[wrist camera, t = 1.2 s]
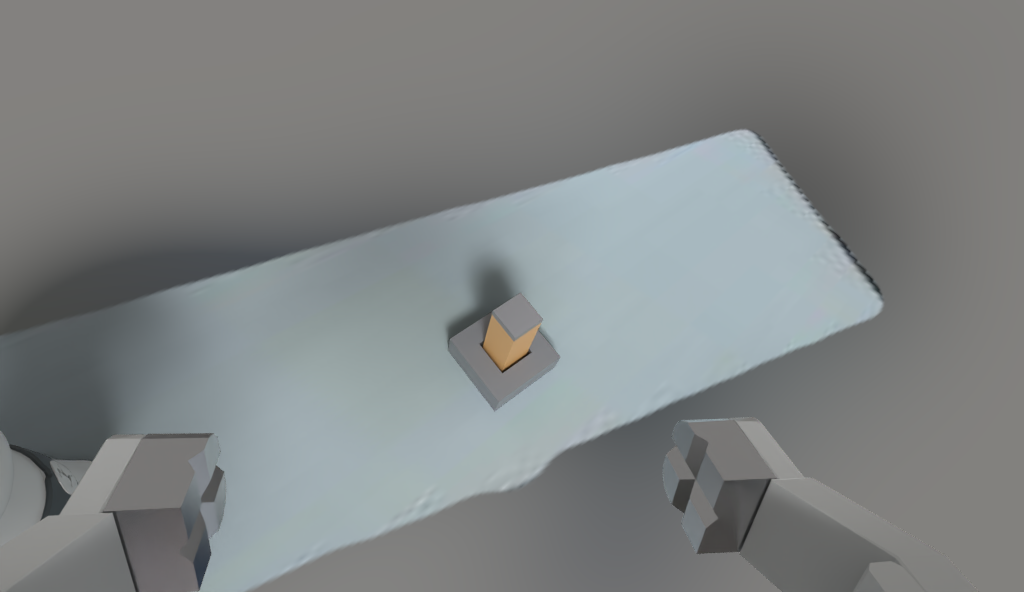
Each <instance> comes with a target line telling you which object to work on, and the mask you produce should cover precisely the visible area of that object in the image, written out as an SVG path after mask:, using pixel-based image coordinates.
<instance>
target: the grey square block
mask: <svg viewBox="0 0 1024 592" xmlns="http://www.w3.org/2000/svg"><path fill="white" fill-rule="evenodd" d="M492 312H493V311H492ZM492 312H490V313H489V314H487V315H486V316H484V317H483V318H481V319H480V320H478V321H477V322H475V323H473V324H472V325H470V326H469V327H467V328H466V329H464V330H463V331H461V332H460V333H458V334H457V335H455V336H454V337H452V338H450V342H449V349H448V351H449V352H450V354H451V355H452V356H453V357H454V359H455V360H456V361H457V363H458V364H459V365H460V367H461V368H462V369H463V371H464V372H465V373H466V374H467V376H468V377H469V378H470V380H471V381H472V382H473V384H474V385H475V386H476V388H477V389H478V390H479V391H480V393H481V394H482V395H483V397H484V398H485V399H486V401H487V402H488V403H489V405H490V406H491V407H492V408H493V410H494V411H496V410H497V409H498V408H500V407H501V406H502V405H504V404H505V403H507V402H508V401H509V400H511V399H512V398H513V397H515V396H516V395H517V394H519V393H520V392H522V391H523V390H524V389H526V388H527V387H528V386H530V385H531V384H532V383H534V382H535V381H537V380H538V379H539V378H541V377H542V376H543V375H545V374H546V373H547V372H549V371H550V370H551V369H553V368H554V367H555V365H556V364H557V362H558V360H559V359H560V356H559V355H558V353H557V352H556V351H555V350H554V348H553V347H552V346H551V345H550V344H549V342H548V341H547V340H546V339H545V338H544V336H543V335H542V334H541V333H540V332H539V330H538V331H537V333H536V335H535V337H534V339H533V341H532V344H531V346H530V348H529V350H528V352H527V354H526V356H525V358H523V359H522V360H521V361H519V362H518V363H516V364H515V365H514V366H512V367H511V368H509V369H508V370H506V371H505V372H504V373H502V372H501V371H500V370H499V368H498V367H497V366H496V365H495V363H494V362H493V361H492V360H491V358H490V357H489V356H488V354H487V353H486V352H485V351H484V349H483V344H484V341H485V337H486V333H487V330H488V326H489V323H490V319H491V316H492Z"/></svg>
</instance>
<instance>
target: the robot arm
mask: <svg viewBox="0 0 1024 592" xmlns="http://www.w3.org/2000/svg"><path fill="white" fill-rule="evenodd" d="M672 438H673V440H674V442H675V443H676V446H675V447H674V448H673V449H672V450H670V452H669V453H667V454H666V457H665V461H664V465H663V483H664V487H665V490H666V494H667V496H668V498H669V500H670V502H671V504H672V505H673V506H675V507H676V508H677V509H679V510H680V511H682V512H683V513H684V516H683V519H682V523H681V524H682V526H683V528H684V530H685V532H686V534H687V536H688V538H689V540H690V542H691V544H692V546H693V548H694V550H695V552H696V553H697V554H704V553H726V552H740V555H741V556H742V557H743V558H745V560H747V561H748V562H749V563H750V564H751V565H752V566H753V567H754V568H756V569H757V570H758V571H759V572H760V573H761V574H763V575H764V576H765V577H766V578H767V579H768V580H769V581H770V582H772V583H773V584H774V585H775V586H776V587H777V588H778V589H780V590H781V591H782V592H979V591H978V590H977V589H976V588H975V587H974V586H973V585H972V583H971V582H970V581H969V580H968V579H967V578H966V577H965V576H964V575H963V574H962V572H961V571H959V569H958V568H957V567H956V566H955V565H954V564H953V563H952V562H951V560H949V558H948V557H947V556H946V555H944V554H943V553H941V552H939V551H938V550H936V549H934V548H933V547H931V546H929V545H927V544H926V543H924V542H922V541H920V540H919V539H917V538H915V537H914V536H912V535H910V534H908V533H907V532H905V531H903V530H901V529H900V528H898V527H896V526H894V525H893V524H891V523H889V522H888V521H886V520H884V519H883V518H881V517H879V516H877V515H876V514H874V513H872V512H870V511H869V510H867V509H865V508H864V507H861V506H860V505H858V504H857V503H855V502H853V501H851V500H849V499H848V498H846V497H844V496H843V495H841V494H839V493H838V492H836V491H834V490H833V489H831V488H829V487H827V486H825V485H824V484H822V483H820V482H819V481H817V480H815V479H813V478H804V477H803V475H802V474H801V473H800V471H799V470H798V469H797V468H796V467H795V465H794V464H793V463H792V461H791V460H790V459H789V458H788V456H787V455H786V454H785V452H784V451H783V450H782V449H781V447H780V446H779V445H778V444H777V442H776V441H775V440H774V438H773V437H772V436H771V435H770V434H769V432H768V431H767V430H766V428H765V427H764V426H763V425H762V423H761V422H760V421H759V420H757V419H755V418H754V417H744V418H728V419H707V420H680V421H679V422H678V423H677V424H676V426H675V428H674V431H673V434H672ZM220 452H221V451H220V446H219V441H218V436H216V435H215V434H213V433H203V434H148V435H113V436H111V437H110V438H108V439H107V440H106V441H105V442H104V443H103V445H102V447H101V448H100V450H99V451H98V453H97V455H96V456H95V458H94V460H93V461H86V460H57V459H51V458H49V457H47V456H44V455H42V454H39V453H36V452H34V451H31V450H28V449H25V448H21V447H18V446H14V445H9V444H8V441H7V439H6V437H5V435H4V434H3V433H2V431H1V430H0V592H195V591H199V590H200V587H201V584H202V581H203V578H204V575H205V572H206V569H207V566H208V563H209V560H210V556H211V549H210V543H209V538H210V537H211V536H213V535H214V534H215V533H216V532H217V531H218V530H219V528H220V525H221V521H222V518H223V514H224V507H225V500H226V481H225V475H224V471H222V470H221V469H220V468H219V467H218V466H216V464H217V461H218V458H219V455H220Z"/></svg>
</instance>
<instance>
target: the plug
mask: <svg viewBox="0 0 1024 592" xmlns="http://www.w3.org/2000/svg"><path fill="white" fill-rule="evenodd" d="M542 320H543V318H542V317H541V316H540V315H539V314H538V313H537V311H536V310H535V309H534V308H533V307H532V305H531V304H530V303H529V302H528V301H527V299H526V298H525V297H524V296H523V295H522V293H519V294H518V295H516V296H515V297H513V298H512V299H510V300H509V301H507V302H505V303H504V304H502V305H501V306H499V307H498V308H496V309H495V310H493V312H492V316H491V319H490V323H489V326H488V330H487V333H486V337H485V341H484V344H483V349H484V351H485V352H486V353H487V354H488V356H489V357H490V358H491V360H492V361H493V362H494V363H495V365H496V366H497V367H498V368H499V370H500V371H501V372H502V373H504V372H505V371H506V370H508V369H509V368H511V367H512V366H514V365H515V364H516V363H518V362H519V361H521V360H522V359H523V358H525V356H526V354H527V352H528V350H529V348H530V346H531V344H532V341H533V339H534V337H535V335H536V333H537V331H538V329H539V327H540V324H541V322H542Z"/></svg>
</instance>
